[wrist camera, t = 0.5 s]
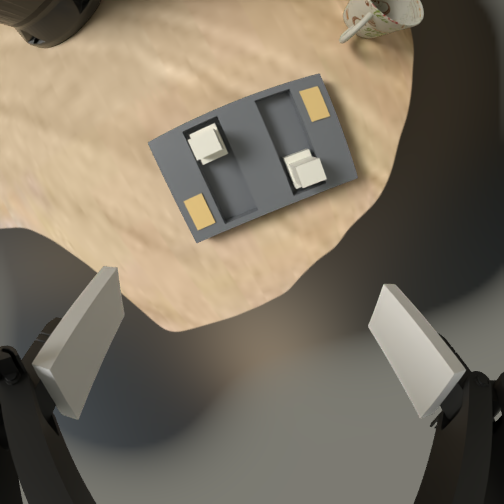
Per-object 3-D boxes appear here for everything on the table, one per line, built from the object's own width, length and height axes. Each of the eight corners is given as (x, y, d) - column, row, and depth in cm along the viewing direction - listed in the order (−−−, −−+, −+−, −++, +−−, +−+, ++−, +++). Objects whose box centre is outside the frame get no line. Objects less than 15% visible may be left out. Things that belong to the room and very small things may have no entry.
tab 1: (191, 134, 31) (182, 134, 26) (215, 123, 31) (211, 120, 25) (204, 163, 32) (198, 168, 27) (228, 153, 32) (227, 155, 27)
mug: (395, 27, 26) (432, 8, 17) (355, 73, 30) (391, 57, 20) (352, -9, 24) (381, -37, 15) (307, 35, 27) (329, 5, 18)
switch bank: (154, 142, 32) (147, 142, 29) (312, 78, 30) (320, 73, 27) (199, 235, 37) (196, 243, 34) (349, 174, 35) (358, 178, 32)
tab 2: (282, 157, 33) (290, 160, 28) (306, 148, 32) (318, 150, 27) (293, 186, 34) (303, 195, 29) (316, 178, 34) (330, 185, 29)
